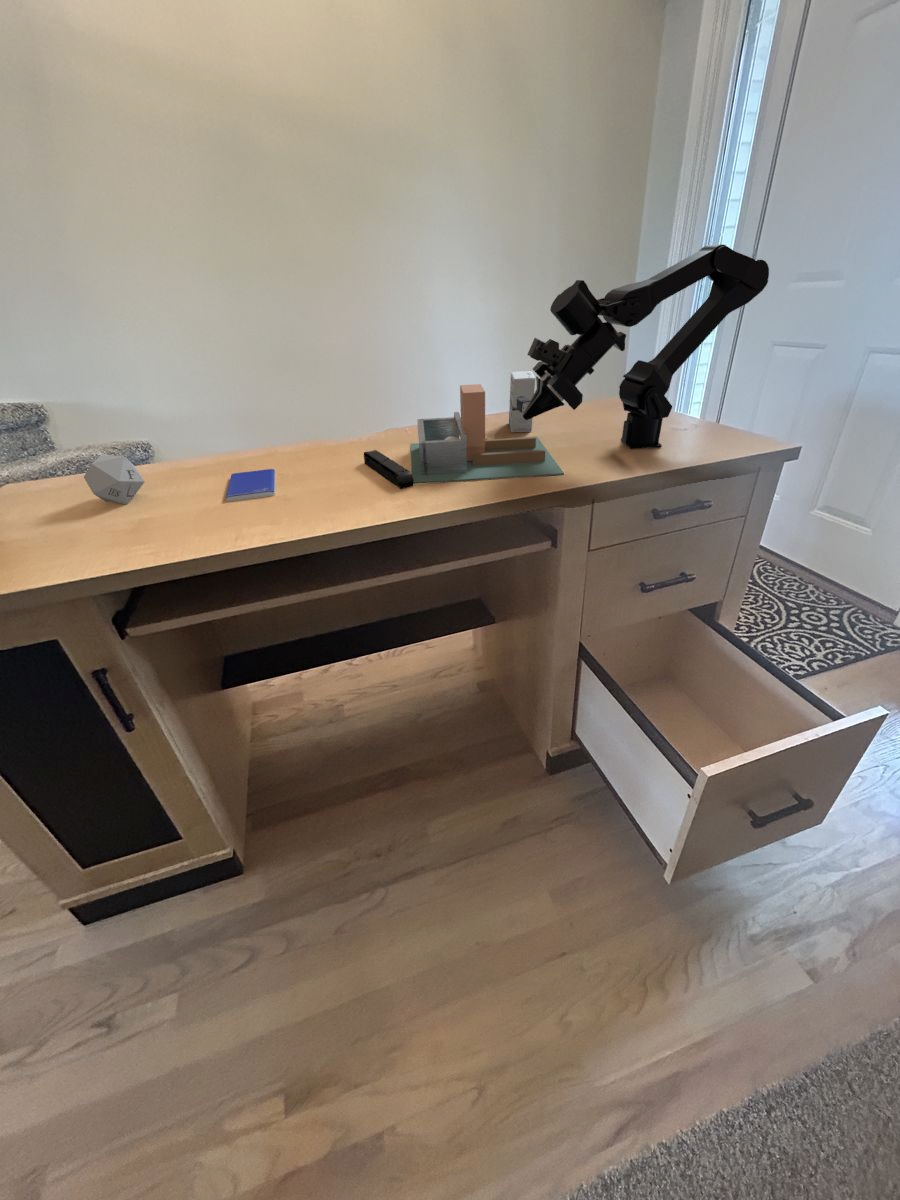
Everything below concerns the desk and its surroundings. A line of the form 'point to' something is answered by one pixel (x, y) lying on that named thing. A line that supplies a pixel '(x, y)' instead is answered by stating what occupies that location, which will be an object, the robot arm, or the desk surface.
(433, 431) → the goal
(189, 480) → the desk surface
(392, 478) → the portable electronic device stand
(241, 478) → the hard drive
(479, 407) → the salmon orange block
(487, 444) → the plate
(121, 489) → the die
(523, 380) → the ink box
